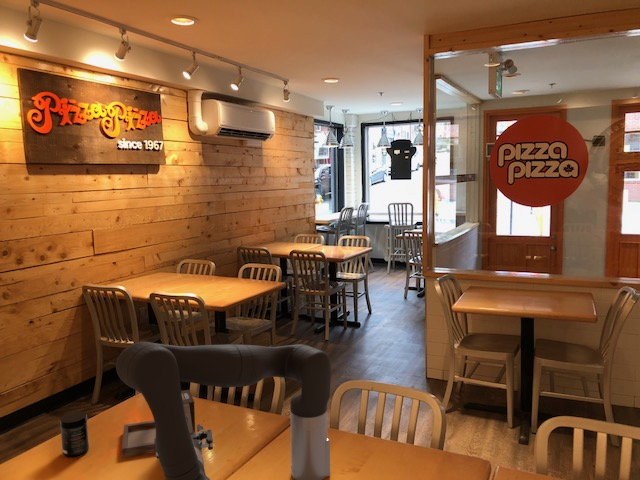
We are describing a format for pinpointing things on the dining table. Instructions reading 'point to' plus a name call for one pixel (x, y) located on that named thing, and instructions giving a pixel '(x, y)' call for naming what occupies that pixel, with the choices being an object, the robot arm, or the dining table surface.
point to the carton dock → (138, 438)
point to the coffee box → (189, 410)
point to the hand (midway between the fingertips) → (182, 430)
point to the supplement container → (74, 434)
